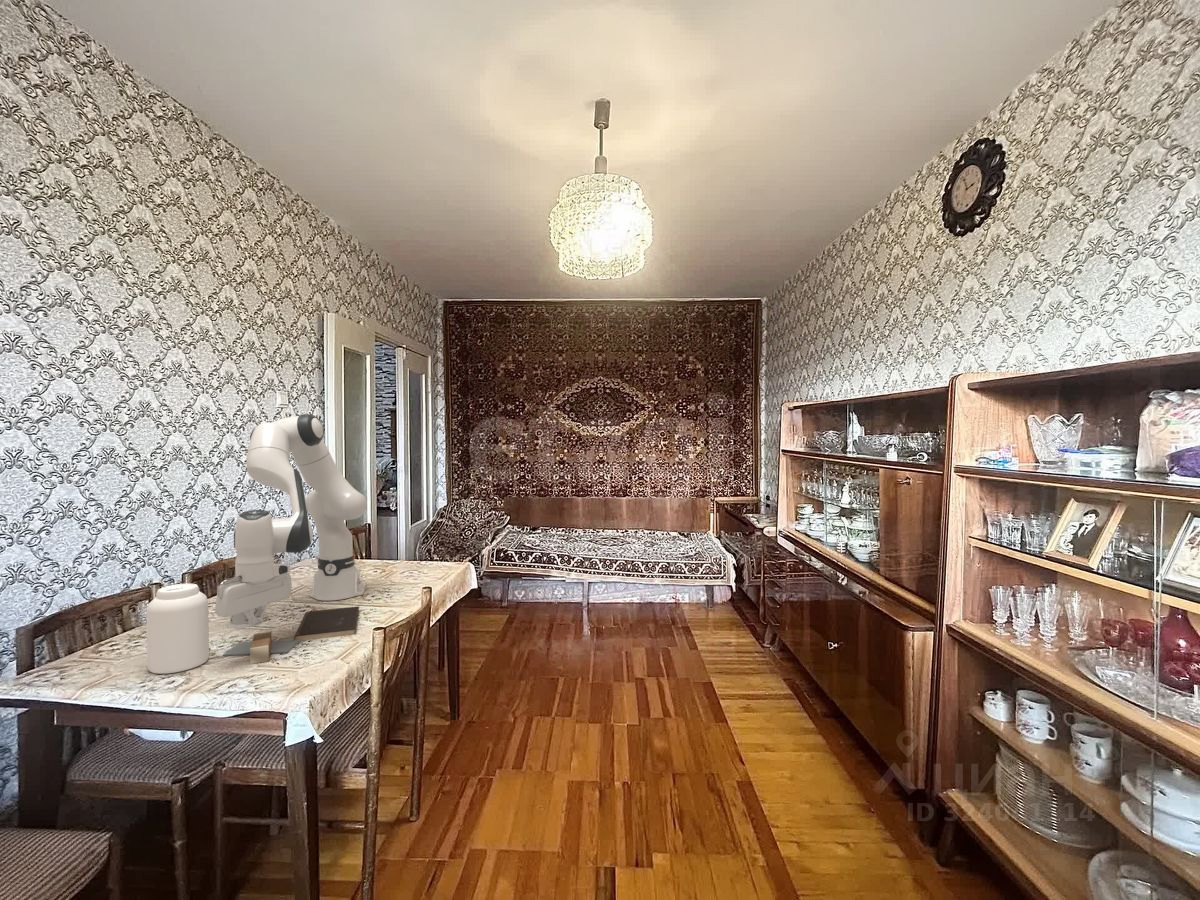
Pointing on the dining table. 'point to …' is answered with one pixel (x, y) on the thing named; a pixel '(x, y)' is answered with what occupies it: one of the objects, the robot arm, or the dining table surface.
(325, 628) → the hardcover book
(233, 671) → the dining table surface
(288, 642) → the rubber mat
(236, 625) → the french press
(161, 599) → the white lidded jar
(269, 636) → the walnut block
